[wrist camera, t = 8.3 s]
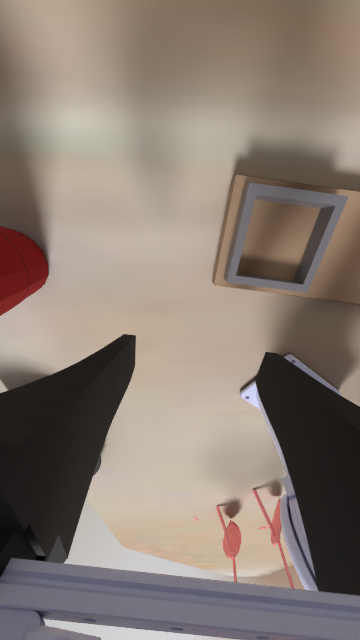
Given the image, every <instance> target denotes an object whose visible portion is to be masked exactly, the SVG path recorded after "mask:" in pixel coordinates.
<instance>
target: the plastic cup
mask: <svg viewBox="0 0 360 640" xmlns="http://www.w3.org/2000/svg"><path fill="white" fill-rule="evenodd" d="M47 277H48V263H47V261H46V258H45V256H44V254H43V252H42V250H41V249H40V248H39V247H38V246H37V244H36V243H35V242H34V241H33V240H31V239H30V238H28V237H27V236H25V235H24V234H22V233H20V232H17V231H16V230H12V229H8V228H5V227H1V226H0V316H1V315H3V314H4V313H6V312H7V311H9V310H10V309H12V308H14V307H15V306H16V305H18V304H19V303H20V302H22V301H23V300H24V299H25V298H27V297H28V296H30V295H32V294H33V293H35V292H36V291H37V290H39V289H40V288H41V287H42V286H43V285H44V284H45V282H46V280H47Z"/></svg>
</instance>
